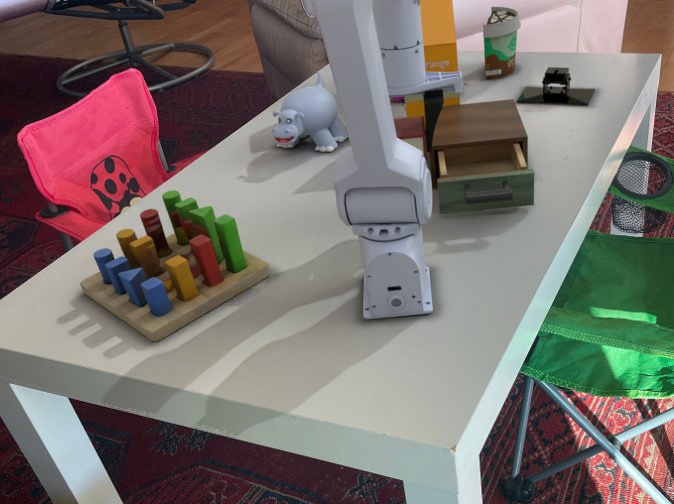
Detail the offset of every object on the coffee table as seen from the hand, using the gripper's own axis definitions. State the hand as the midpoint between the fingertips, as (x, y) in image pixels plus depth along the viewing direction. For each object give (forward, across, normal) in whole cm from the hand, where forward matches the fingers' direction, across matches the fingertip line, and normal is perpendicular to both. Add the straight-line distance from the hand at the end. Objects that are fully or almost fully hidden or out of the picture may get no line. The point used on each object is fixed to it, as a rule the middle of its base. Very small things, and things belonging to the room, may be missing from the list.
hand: (410, 151), depth 98 cm
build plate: (+9, -26, -37) cm, 46 cm away
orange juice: (+9, -4, -29) cm, 31 cm away
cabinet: (+9, -9, -14) cm, 19 cm away
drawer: (+8, -10, -2) cm, 13 cm away
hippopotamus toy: (+9, +17, -27) cm, 33 cm away
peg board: (+9, +31, +13) cm, 35 cm away
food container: (+9, -19, -53) cm, 57 cm away
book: (0, 0, 0) cm, 0 cm away
